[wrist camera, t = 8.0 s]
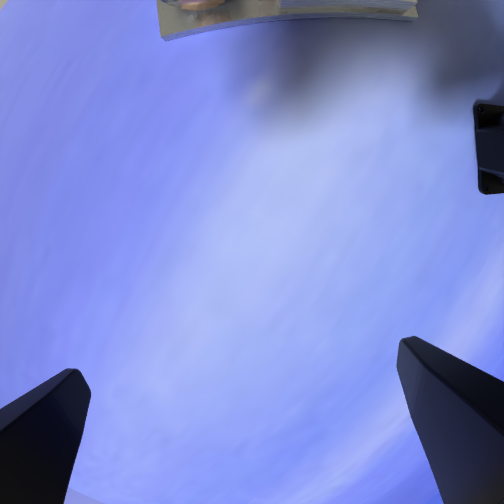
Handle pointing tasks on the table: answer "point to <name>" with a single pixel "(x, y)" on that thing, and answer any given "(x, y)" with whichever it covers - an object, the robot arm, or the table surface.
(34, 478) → the robot arm
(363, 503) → the table surface
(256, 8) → the motor mount
